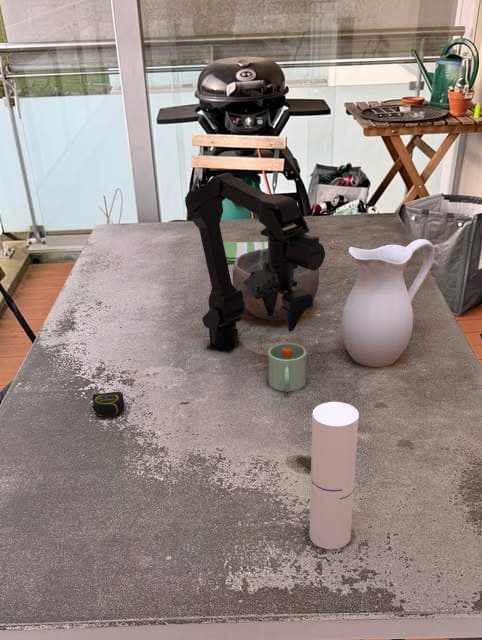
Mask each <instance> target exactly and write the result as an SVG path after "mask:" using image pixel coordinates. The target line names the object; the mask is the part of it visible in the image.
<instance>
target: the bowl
mask: <svg viewBox="0 0 482 640" xmlns="http://www.w3.org/2000/svg"><path fill="white" fill-rule="evenodd" d="M266 261H268V248H265V249H262V250H255V251H251V252H248V253H245V254H243V255H241V256H240V257H238V258H237V260H236V261H235V264H233V267H232V278H231V280H232V285H233V286H234V287H235V288H236V289H237V290H241V291H242V293H243V300H244V303H245V306H244V311H247V312H249V314H251V315H253V316H255V317H257V318H259V319H260V318H261V319H264V320H269V321H284V320H287V312H286V311H285V310H284V309H283V308H282V307H281V306H283V304H282V296H283V295H282V294H281V293H279V292H278V296H277V301H276V305H275V309H274V312H273V315H272V316H270V317H269V316H268V315H267V312H266V309H265V305H264V302H263V299H262V298H260V299H254V298H253V297H252V296H251V295H249V294H248V292H247V290H246V287H245V285H244V281H245V280H246V279H247V278H249V277H250V275H251V273H252V272H253V271H257V270H261V269H263V264H264V262H266ZM294 280H296V281H297V286H294V287H292V289H293V290H298V289H304V290H305V291H307V292H309V293H310V294H311V295H312V296H314V299H315V298H316V296H317V292H318V290H319V286H320V268H319V269H317V270H315V271H312V270H309V269H306V268H303V267H300V266H298V268H296V269H294Z"/></svg>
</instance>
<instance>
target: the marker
mask: <svg viewBox="0 0 482 640" xmlns="http://www.w3.org/2000/svg"><path fill="white" fill-rule="evenodd" d="M282 357H283V359H284V360H290V359H291V357H292V349H291V348H289V347H285V348H283V349H282Z"/></svg>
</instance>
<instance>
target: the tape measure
mask: <svg viewBox="0 0 482 640" xmlns="http://www.w3.org/2000/svg"><path fill="white" fill-rule="evenodd" d="M92 409H93V412H94V413H95V414H96V415H98V416H100V417H113V416H116V415H119V414H121V413H122V412H123V411H124V409H125V400H124V394H123V392H121V391H111V392H102V393H95V394H92Z"/></svg>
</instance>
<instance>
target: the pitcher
mask: <svg viewBox="0 0 482 640" xmlns="http://www.w3.org/2000/svg"><path fill="white" fill-rule="evenodd" d="M421 248H424V257H423V262H422V264H421V266H420V269H419V272H418V273H417V275H416V276H415V278H414V281H413V282H412V283H411V285H410V287H409V289H407V286H406V283H405V279H404V268H406V266H407V264H408V262H409V261H410V259H411V258H412V256H413V254H414V253H415V252H417V251H418V250H419V249H421ZM348 254H349V255H350V257H351V258H353V260H354V261H356V262H357V264H358V273H357V277H356V279H355V281H354V284H353V285H352V288H351V290H350V292H349V294H348V296H347V299H346V302H345V304H344V307H343V312H342V315H341V337H342V340H343V344H344V346H345V349H346V351H347V352H348V354H349V356H350V357H351V359H352V360H353V361H354V362H355V363H357V364H359V365H362V366H365V367H370V368H381V367H387V366H389V365H392V364H393V363H395V362H396V361H398V359H399V358H400V357H401V356H402V354H403V353H404V352H405V350H406V349H407V347H408V345H409V344H410V343H409V342H410V340H411V337H412V333H413V327H414V311H413V306H412V302H413V299H414V298H415V295H416V294H417V292H418V291H419V289H420V287H421V286H422V285H423V283H424V281H425V279H426V277H427V276H428V275H429V272H430V271H431V268H432V267H433V264H434V261H435V258H436V257H435V256H436V249H435V246H434V244H433V243H432V242H431V241H430V240H428V239H425V238H418V239H415V240H413V241H411V242H410V243H408V244H407V245H406V246H403V245H399V244H386V245H382V246H379V247H377V248H374V249H373V248H372V249H366V248H365V249H364V248H358V247H356V246H355V247H353V246H349V248H348Z"/></svg>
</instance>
